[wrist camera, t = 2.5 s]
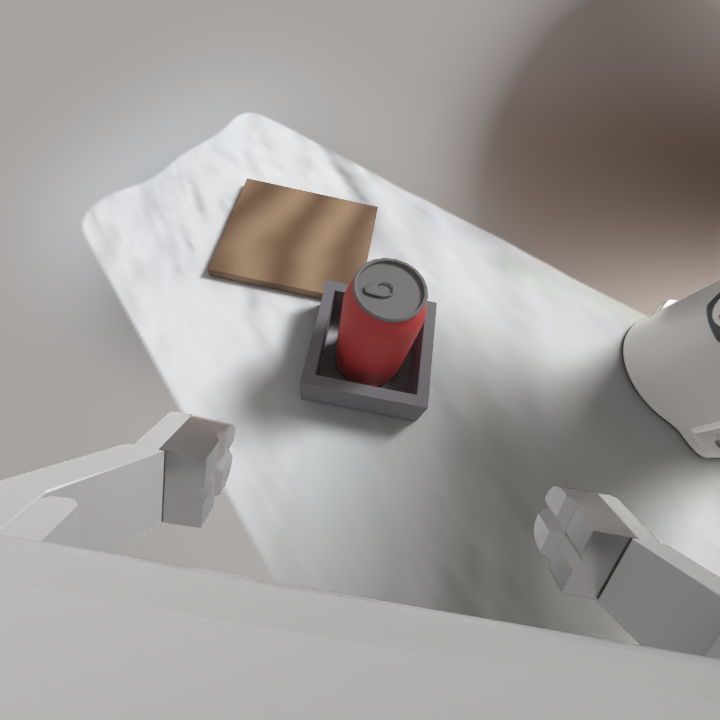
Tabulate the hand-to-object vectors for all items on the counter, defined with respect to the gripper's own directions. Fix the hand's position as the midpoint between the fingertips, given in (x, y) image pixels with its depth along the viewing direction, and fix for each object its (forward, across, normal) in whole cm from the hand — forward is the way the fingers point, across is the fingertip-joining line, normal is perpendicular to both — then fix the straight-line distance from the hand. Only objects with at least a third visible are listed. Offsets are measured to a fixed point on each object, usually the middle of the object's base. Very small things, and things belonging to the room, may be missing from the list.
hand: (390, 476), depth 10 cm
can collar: (+28, -1, +6) cm, 28 cm away
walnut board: (+37, +9, -3) cm, 38 cm away
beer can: (+28, -1, +6) cm, 29 cm away
